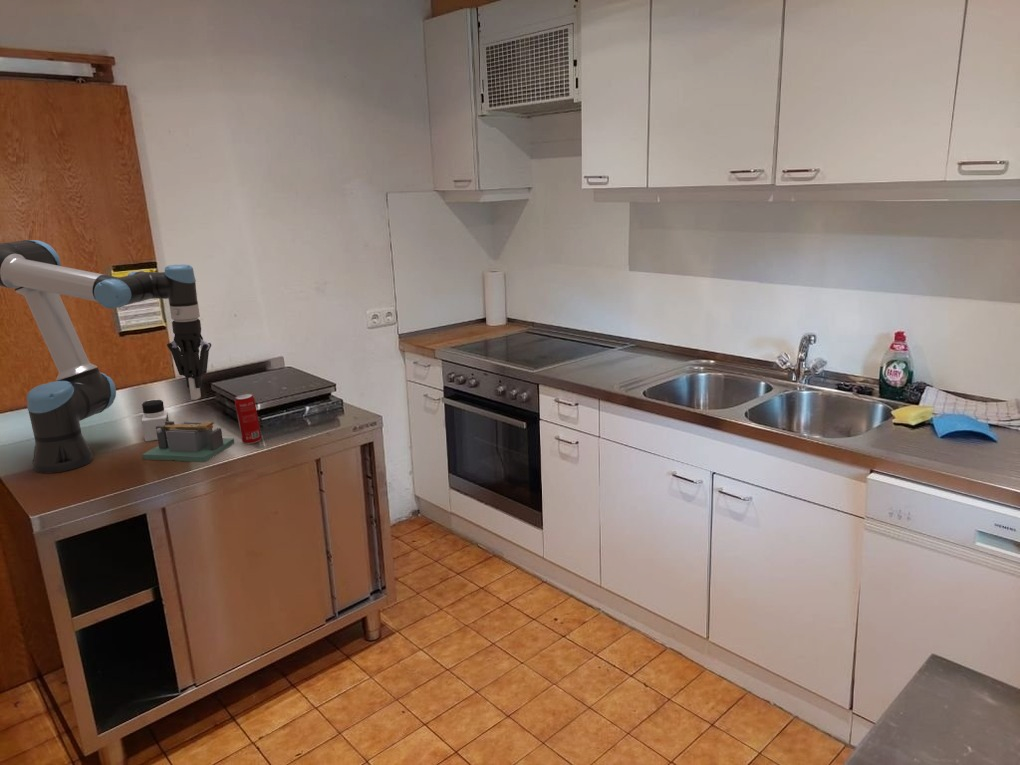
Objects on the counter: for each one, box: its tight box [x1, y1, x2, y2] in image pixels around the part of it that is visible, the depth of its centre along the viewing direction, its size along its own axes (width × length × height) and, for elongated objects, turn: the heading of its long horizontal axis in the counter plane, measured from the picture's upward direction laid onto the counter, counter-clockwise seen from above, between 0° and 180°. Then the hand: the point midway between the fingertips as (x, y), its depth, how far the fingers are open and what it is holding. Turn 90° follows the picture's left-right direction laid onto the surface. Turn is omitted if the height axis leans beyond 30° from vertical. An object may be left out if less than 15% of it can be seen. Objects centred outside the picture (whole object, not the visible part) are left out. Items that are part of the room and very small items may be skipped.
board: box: [142, 420, 235, 463], centre depth 223 cm, size 20×16×8 cm
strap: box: [164, 421, 215, 430], centre depth 222 cm, size 16×4×2 cm, turn 79°
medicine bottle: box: [141, 398, 170, 442], centre depth 237 cm, size 7×7×12 cm
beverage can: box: [234, 393, 262, 445], centre depth 229 cm, size 6×6×15 cm
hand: (196, 398), depth 219 cm, fingers closed
